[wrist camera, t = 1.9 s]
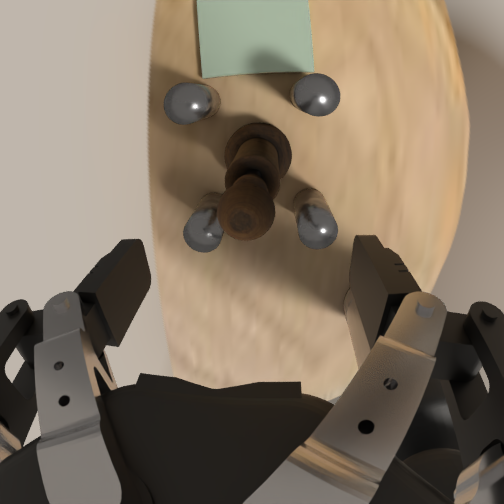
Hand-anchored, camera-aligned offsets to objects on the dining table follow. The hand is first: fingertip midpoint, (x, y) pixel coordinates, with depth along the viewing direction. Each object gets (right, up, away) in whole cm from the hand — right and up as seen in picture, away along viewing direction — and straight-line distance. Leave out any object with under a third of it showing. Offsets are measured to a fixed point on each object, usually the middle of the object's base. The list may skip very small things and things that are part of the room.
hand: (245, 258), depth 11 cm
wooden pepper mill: (+1, +11, +19) cm, 22 cm away
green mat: (0, +23, +12) cm, 26 cm away
